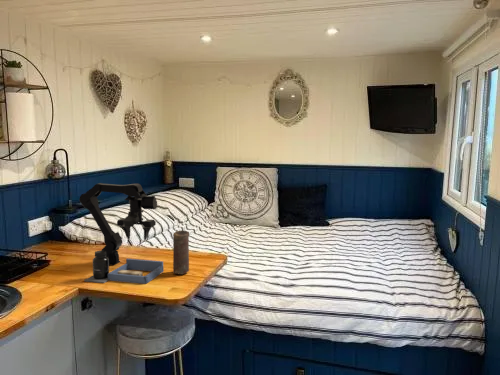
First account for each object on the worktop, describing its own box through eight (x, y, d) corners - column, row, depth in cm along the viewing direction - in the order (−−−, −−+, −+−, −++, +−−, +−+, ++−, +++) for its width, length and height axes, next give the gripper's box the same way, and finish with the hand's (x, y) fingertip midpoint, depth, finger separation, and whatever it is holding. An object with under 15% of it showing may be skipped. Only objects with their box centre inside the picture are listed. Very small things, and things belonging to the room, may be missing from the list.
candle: (192, 271, 182) (191, 230, 180) (184, 276, 176) (183, 234, 173) (178, 269, 185) (177, 229, 182) (170, 274, 178) (169, 233, 176)
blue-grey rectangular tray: (107, 280, 171) (107, 269, 171) (127, 268, 187) (127, 258, 187) (146, 283, 167) (145, 272, 166) (163, 271, 183) (163, 261, 182)
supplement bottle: (94, 280, 169) (92, 254, 168) (92, 276, 175) (91, 250, 174) (110, 278, 172) (109, 252, 171) (108, 273, 178) (107, 248, 177)
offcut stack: (114, 280, 172) (114, 271, 172) (118, 277, 175) (117, 269, 175) (140, 282, 169) (139, 274, 169) (143, 280, 172) (143, 271, 171)
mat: (84, 281, 170) (84, 280, 170) (98, 273, 180) (98, 272, 180) (103, 283, 168) (103, 282, 168) (117, 275, 177) (116, 274, 177)
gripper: (109, 211, 184) (111, 242, 186) (144, 212, 180) (145, 244, 182) (122, 207, 195) (123, 236, 197) (155, 208, 191) (156, 239, 193)
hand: (136, 239), depth 192 cm, fingers open, 9 cm apart
